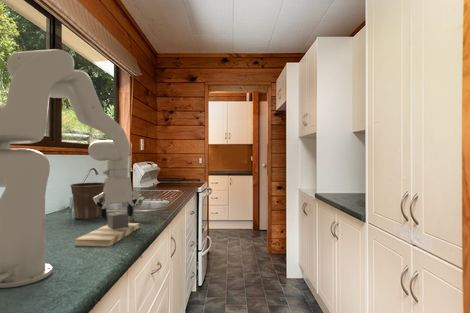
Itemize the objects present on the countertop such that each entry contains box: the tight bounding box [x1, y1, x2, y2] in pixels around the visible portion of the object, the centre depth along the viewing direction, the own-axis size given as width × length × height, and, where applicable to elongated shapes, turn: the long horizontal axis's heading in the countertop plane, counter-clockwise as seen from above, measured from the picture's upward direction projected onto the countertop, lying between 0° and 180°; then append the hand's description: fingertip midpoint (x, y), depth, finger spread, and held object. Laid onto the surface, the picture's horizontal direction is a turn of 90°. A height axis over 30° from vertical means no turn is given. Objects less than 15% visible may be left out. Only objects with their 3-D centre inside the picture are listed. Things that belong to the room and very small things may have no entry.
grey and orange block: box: [107, 211, 129, 229], centre depth 114 cm, size 6×6×5 cm
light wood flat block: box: [74, 222, 140, 247], centre depth 108 cm, size 24×12×6 cm, turn 175°
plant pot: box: [69, 182, 104, 221], centre depth 141 cm, size 16×16×16 cm
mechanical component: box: [121, 197, 143, 222], centre depth 133 cm, size 3×10×10 cm, turn 78°
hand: (117, 217), depth 114 cm, fingers open, 9 cm apart
